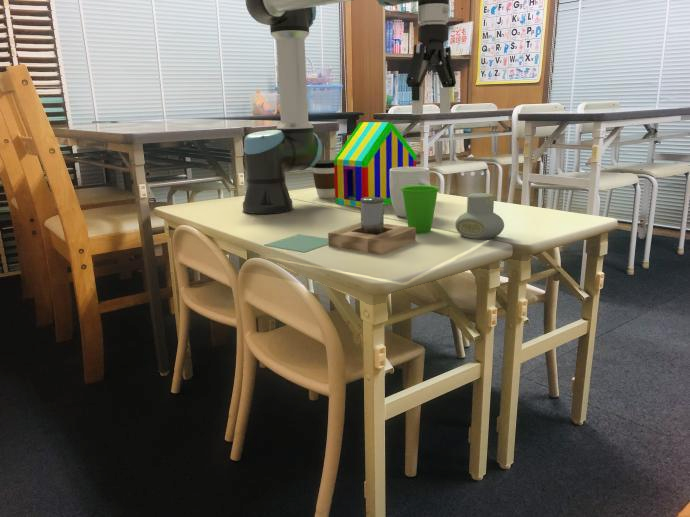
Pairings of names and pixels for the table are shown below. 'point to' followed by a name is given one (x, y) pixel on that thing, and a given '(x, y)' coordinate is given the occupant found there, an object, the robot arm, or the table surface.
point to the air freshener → (480, 218)
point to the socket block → (372, 238)
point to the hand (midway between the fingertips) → (431, 113)
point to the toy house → (370, 162)
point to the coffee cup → (324, 178)
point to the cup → (420, 206)
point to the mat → (299, 243)
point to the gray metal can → (372, 215)
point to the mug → (405, 184)
